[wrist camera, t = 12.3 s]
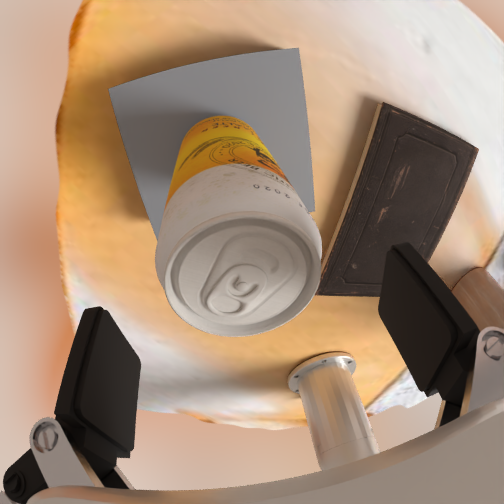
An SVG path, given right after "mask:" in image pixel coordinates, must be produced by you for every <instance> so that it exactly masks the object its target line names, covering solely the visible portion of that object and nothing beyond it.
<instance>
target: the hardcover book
mask: <svg viewBox="0 0 504 504" xmlns="http://www.w3.org/2000/svg"><path fill="white" fill-rule="evenodd" d="M478 151H479V149H478V148H476V147H475V146H473V145H471V144H469V143H468V142H466V141H464V140H462V139H461V138H459V137H457V136H455V135H453V134H451V133H449V132H447V131H446V130H444V129H442V128H440V127H438V126H436V125H434V124H432V123H430V122H428V121H425V120H423V119H421V118H419V117H417V116H415V115H412V114H410V113H408V112H406V111H403V110H401V109H399V108H396V107H394V106H392V105H389V104H387V103H384V102H383V103H382V105H381V104H378V105H377V108H376V112H375V115H374V118H373V122H372V125H371V128H370V131H369V134H368V138H367V141H366V144H365V147H364V150H363V153H362V156H361V159H360V162H359V165H358V168H357V171H356V174H355V177H354V180H353V182H352V185H351V188H350V191H349V194H348V197H347V199H346V202H345V205H344V208H343V210H342V213H341V216H340V218H339V221H338V224H337V226H336V229H335V232H334V234H333V237H332V239H331V242H330V244H329V247H328V250H327V252H326V255H325V257H324V260H323V262H322V264H321V278H320V283H319V286H318V289H317V291H316V293H315V295H325V296H367V297H380V294H381V288H382V282H383V275H384V268H385V260H386V253H387V251H389V250H390V248H391V246H392V245H395V244H399V243H403V242H409V243H410V244H411V245H412V246H413V247H414V248H415V250H416V251H417V252H418V253H419V254H420V255H421V256H422V257H423V259H424V260H425V261H426V262H427V263H428V261H429V260H430V258H431V256H432V254H433V252H434V250H435V248H436V247H437V245H438V243H439V241H440V239H441V237H442V235H443V233H444V231H445V229H446V227H447V225H448V223H449V220H450V218H451V216H452V214H453V212H454V210H455V208H456V205H457V203H458V201H459V199H460V196H461V194H462V192H463V189H464V187H465V184H466V182H467V180H468V177H469V175H470V172H471V169H472V167H473V164H474V162H475V159H476V156H477V153H478Z"/></svg>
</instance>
